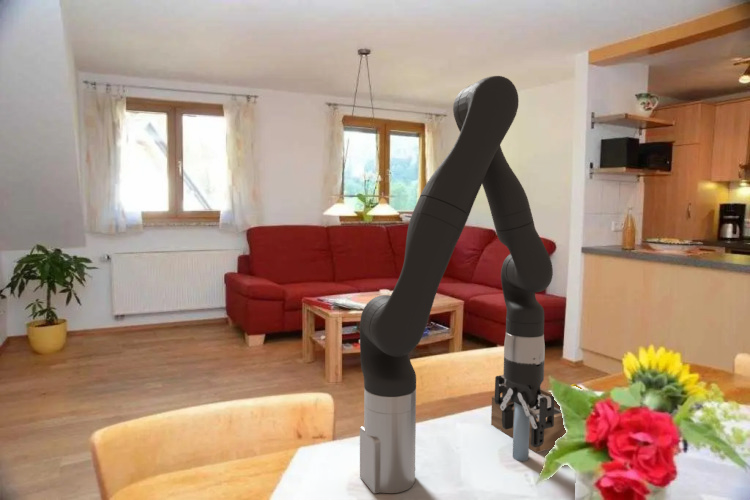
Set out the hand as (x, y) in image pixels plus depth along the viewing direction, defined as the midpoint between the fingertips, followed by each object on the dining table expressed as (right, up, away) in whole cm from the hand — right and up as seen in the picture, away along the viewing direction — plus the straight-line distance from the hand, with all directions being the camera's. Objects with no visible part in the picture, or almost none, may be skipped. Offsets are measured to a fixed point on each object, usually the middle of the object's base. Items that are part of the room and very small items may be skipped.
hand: (521, 436), depth 98 cm
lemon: (+18, -3, +19) cm, 26 cm away
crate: (+7, -3, +11) cm, 14 cm away
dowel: (0, -4, 0) cm, 4 cm away
